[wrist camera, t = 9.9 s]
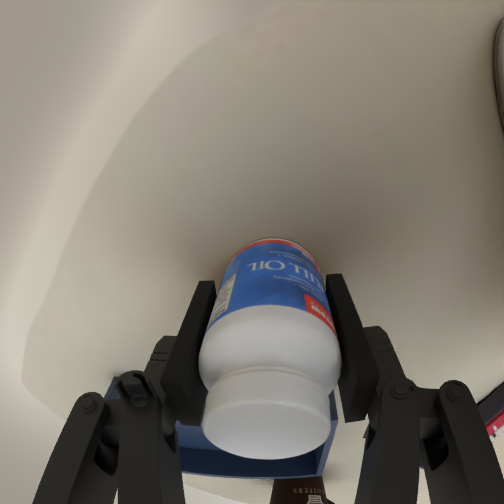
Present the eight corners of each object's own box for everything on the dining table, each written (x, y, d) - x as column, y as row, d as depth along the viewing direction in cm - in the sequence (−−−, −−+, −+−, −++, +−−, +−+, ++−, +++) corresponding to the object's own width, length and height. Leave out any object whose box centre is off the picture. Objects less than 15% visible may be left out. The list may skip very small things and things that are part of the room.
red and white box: (526, 415, 20) (444, 477, 24) (514, 396, 24) (437, 456, 28) (523, 396, 17) (420, 473, 22) (507, 373, 21) (412, 447, 26)
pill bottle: (337, 258, 16) (394, 407, 7) (293, 328, 18) (302, 474, 9) (245, 218, 15) (210, 361, 6) (210, 298, 17) (167, 444, 8)
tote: (332, 382, 20) (338, 419, 17) (319, 448, 25) (321, 476, 22) (114, 376, 21) (99, 406, 18) (157, 442, 27) (149, 467, 23)
